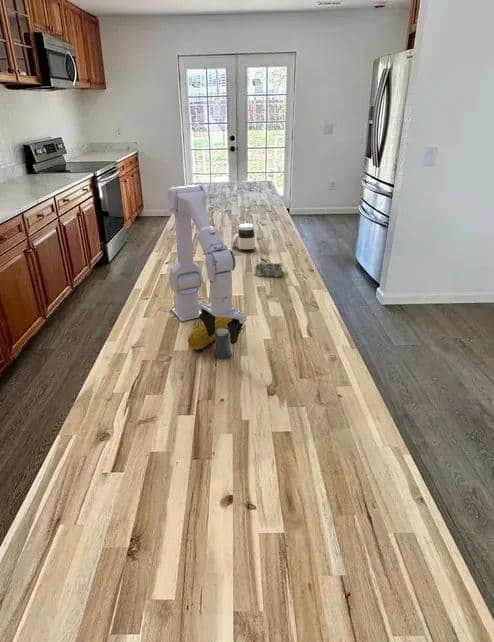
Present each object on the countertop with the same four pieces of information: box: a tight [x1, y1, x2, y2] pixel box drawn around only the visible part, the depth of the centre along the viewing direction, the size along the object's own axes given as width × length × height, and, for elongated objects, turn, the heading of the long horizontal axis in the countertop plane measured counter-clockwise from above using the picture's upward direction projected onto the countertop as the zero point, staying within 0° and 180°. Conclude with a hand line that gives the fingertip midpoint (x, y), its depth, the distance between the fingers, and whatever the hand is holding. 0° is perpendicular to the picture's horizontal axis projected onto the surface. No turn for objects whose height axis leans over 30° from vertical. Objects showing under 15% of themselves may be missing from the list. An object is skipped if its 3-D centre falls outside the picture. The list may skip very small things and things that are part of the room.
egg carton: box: [254, 262, 283, 278], centre depth 176 cm, size 11×8×4 cm
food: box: [187, 316, 232, 351], centre depth 131 cm, size 21×6×6 cm, turn 149°
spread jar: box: [230, 222, 256, 253], centre depth 202 cm, size 12×11×12 cm
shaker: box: [214, 328, 231, 360], centre depth 121 cm, size 4×4×8 cm
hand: (222, 338), depth 121 cm, fingers open, 7 cm apart
